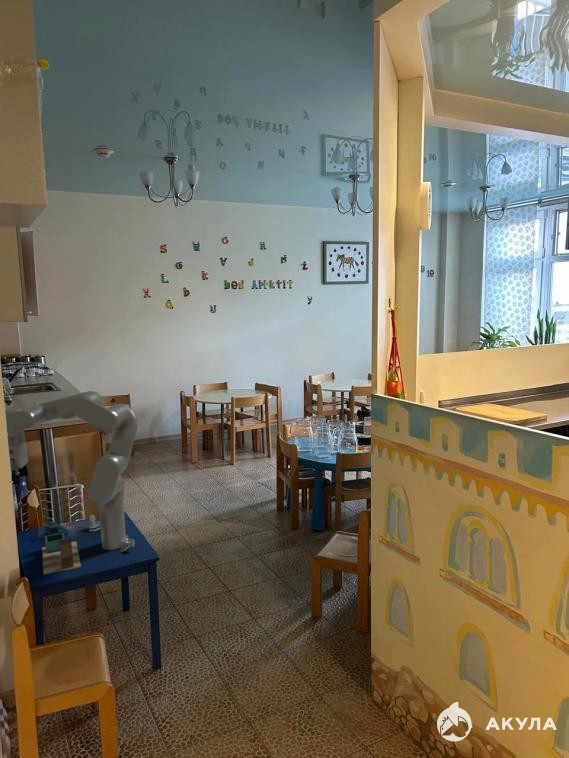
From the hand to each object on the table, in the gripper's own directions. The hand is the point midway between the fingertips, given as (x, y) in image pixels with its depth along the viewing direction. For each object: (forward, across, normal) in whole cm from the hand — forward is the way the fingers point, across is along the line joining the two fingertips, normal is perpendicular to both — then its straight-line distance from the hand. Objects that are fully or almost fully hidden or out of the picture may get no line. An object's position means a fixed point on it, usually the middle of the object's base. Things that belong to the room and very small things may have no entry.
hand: (19, 479), depth 229 cm
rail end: (+28, -22, -22) cm, 42 cm away
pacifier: (+29, +13, -24) cm, 40 cm away
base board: (+29, -15, -17) cm, 37 cm away
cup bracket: (+27, -12, -15) cm, 34 cm away
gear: (+29, +9, -10) cm, 32 cm away
